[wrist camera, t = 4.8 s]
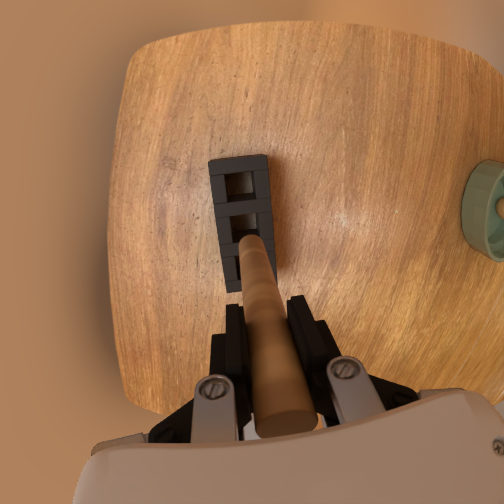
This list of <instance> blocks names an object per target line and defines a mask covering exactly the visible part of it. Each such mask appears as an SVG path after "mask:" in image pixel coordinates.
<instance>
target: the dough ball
mask: <svg viewBox="0 0 504 504" xmlns="http://www.w3.org/2000/svg"><path fill="white" fill-rule="evenodd" d="M496 212H497V214H498V216H499V217H500V218H502V219H504V198H501V199H499V200H498V202H497V204H496Z"/></svg>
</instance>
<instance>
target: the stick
mask: <svg viewBox="0 0 504 504" xmlns="http://www.w3.org/2000/svg"><path fill="white" fill-rule="evenodd" d="M239 259H240V272H241V284H242V296H243V308H244V315H245V322H246V331H247V342H248V352H249V362H250V373H251V383H252V389H251V396H252V406H253V416H254V426H255V432H256V434H257V435H258V436H259V437H260V438H262V439H264V438H272V437H279V436H286V435H292V434H298V433H303V432H309V431H312V430H313V429H314V428H315V427H316V426H317V423H318V416H317V413H316V410H315V406H314V403H313V400H312V396H311V393H310V390H309V386H308V383H307V380H306V378H305V375H304V371H303V368H302V365H301V361H300V358H299V355H298V352H297V348H296V345H295V342H294V338H293V335H292V332H291V329H290V326H289V322H288V319H287V315H286V312H285V308H284V305H283V302H282V299H281V296H280V293H279V289H278V286H277V283H276V280H275V277H274V274H273V271H272V268H271V264H270V261H269V258H268V255H267V252H266V249H265V246H264V243H263V241H262V239H261V238H260V237H258V236H256V235H247V236H245V237H243V238H242V239H241V241H240V242H239Z"/></svg>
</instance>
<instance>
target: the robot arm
mask: <svg viewBox="0 0 504 504" xmlns="http://www.w3.org/2000/svg"><path fill="white" fill-rule="evenodd" d="M287 319H288V322H289V326H290V329H291V332H292V335H293V338H294V342H295V345H296V348H297V352H298V355H299V358H300V361H301V365H302V368H303V371H304V375H305V378H306V380H307V383H308V386H309V390H310V393H311V396H312V400H313V403H314V406H315V410H316V412H317V413H319V414H321V419H322V423H323V426H324V428H323V429H319V430H314V431H309V432H303V433H298V434H292V435H286V436H279V437H272V438H264V439H256V440H246V441H245V430H244V427H245V426H246V425H247V424H248V423H249V422H250V421H251V420H252V414H251V413H253V406H252V396H251V389H252V383H251V373H250V362H249V352H248V342H247V331H246V322H245V315H244V308H243V306H239V305H238V303H237V304H229V305H226V333H224V334H214V335H212V340H211V356H210V372H209V376H206V377H204V378H202V379H201V380H200V381H199V382H198V383H197V384H196V387H195V393H194V398H193V399H192V400H191V401H189V402H188V403H187V404H185V405H184V406H182V407H181V408H180V409H178V410H177V411H176V412H174V413H173V414H171V415H170V416H169V417H167V418H166V419H164V420H163V421H161V422H160V423H159V424H157V425H156V426H155V427H154V428H152V429H151V431H150V432H149V433H148V434H143V433H138V434H134V435H130V436H126V437H122V438H117V439H113V440H109V441H104V442H100V443H98V444H97V445H96V446H94V447H93V449H92V452H91V457H90V458H89V460H88V461H87V463H86V464H85V466H84V468H83V470H82V473H81V475H80V478H79V481H78V484H77V487H76V491H75V494H74V498H73V502H72V504H504V419H503V418H502V417H501V415H500V414H499V413H498V411H497V410H496V409H495V407H494V406H493V405H492V404H491V403H490V402H489V401H488V400H487V399H486V398H485V397H484V396H482V395H481V394H479V393H478V392H475V391H468V390H464V389H462V388H447V389H430V390H420V391H419V392H417V393H416V392H415V391H414V390H412V389H410V388H408V387H405V386H402V385H399V384H396V383H393V382H390V381H387V380H384V379H381V378H378V377H375V376H372V375H369V374H367V372H366V370H365V368H364V366H363V364H362V363H361V362H360V361H359V360H358V359H356V358H354V357H351V356H342V355H341V353H340V351H339V349H338V347H337V344H336V342H335V340H334V338H333V336H332V334H331V332H330V330H329V328H328V326H327V324H326V322H325V320H319V321H315V320H314V318H313V316H312V313H311V311H310V309H309V307H308V304H307V302H306V300H305V298H304V296H303V295H299V296H292V297H291V300H287Z"/></svg>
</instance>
